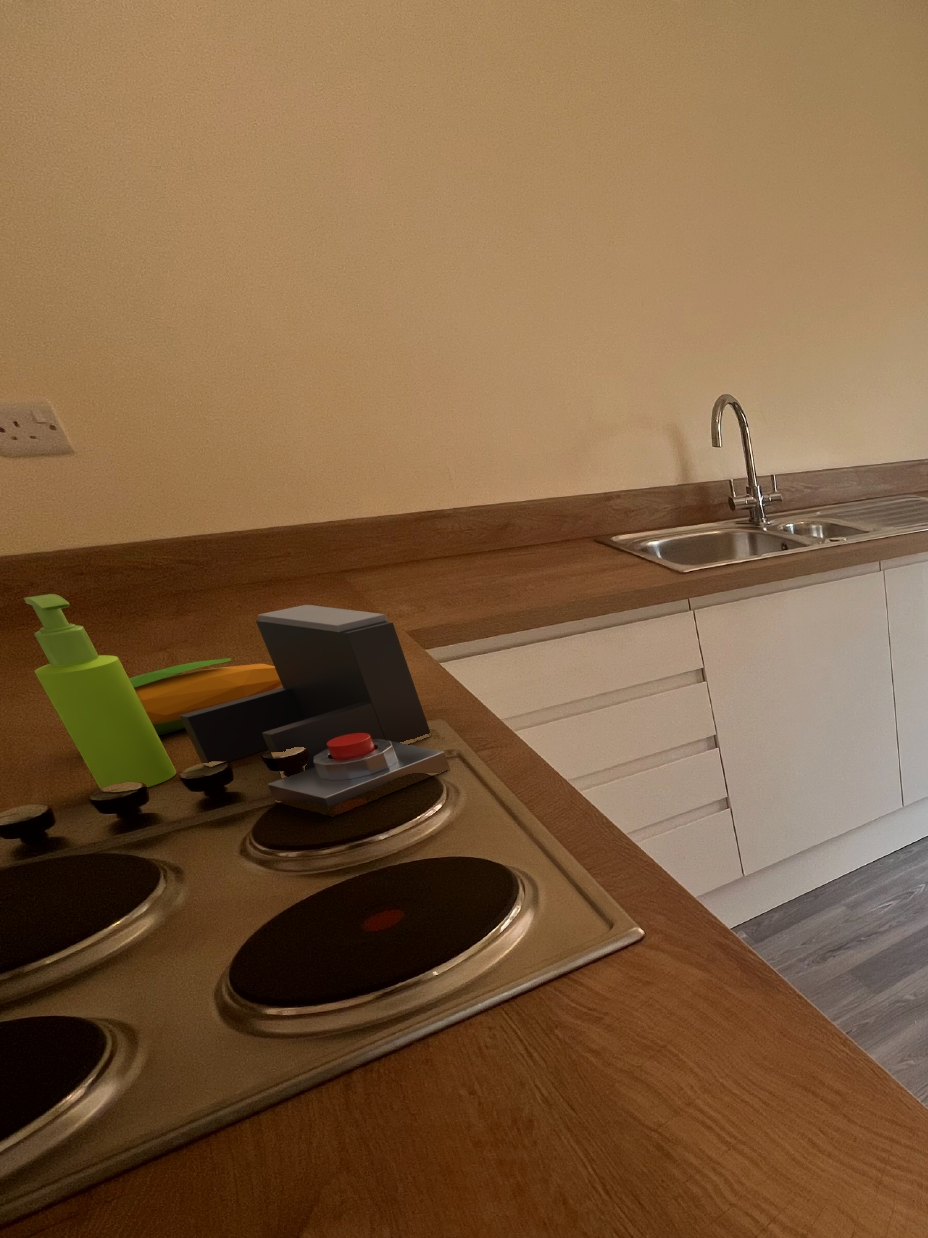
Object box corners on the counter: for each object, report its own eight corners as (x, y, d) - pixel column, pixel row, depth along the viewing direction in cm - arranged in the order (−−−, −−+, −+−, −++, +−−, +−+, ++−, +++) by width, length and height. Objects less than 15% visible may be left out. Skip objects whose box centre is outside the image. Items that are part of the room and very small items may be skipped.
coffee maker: (293, 787, 88) (234, 651, 82) (203, 765, 93) (141, 636, 87) (433, 736, 101) (391, 614, 94) (346, 719, 106) (301, 603, 100)
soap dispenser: (114, 800, 86) (7, 607, 77) (92, 785, 89) (-13, 598, 80) (189, 778, 90) (95, 593, 82) (165, 765, 93) (73, 586, 85)
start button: (347, 764, 84) (341, 748, 84) (324, 759, 86) (318, 743, 85) (383, 750, 88) (378, 735, 87) (361, 746, 89) (355, 730, 88)
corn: (58, 682, 96) (258, 637, 113) (88, 742, 100) (278, 690, 116) (94, 693, 94) (294, 646, 111) (124, 755, 97) (313, 700, 114)
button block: (332, 818, 82) (317, 780, 80) (275, 803, 85) (259, 767, 83) (450, 769, 92) (439, 736, 90) (395, 758, 95) (383, 725, 93)
